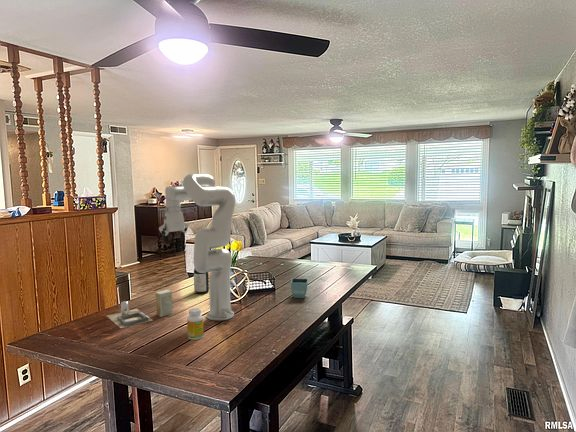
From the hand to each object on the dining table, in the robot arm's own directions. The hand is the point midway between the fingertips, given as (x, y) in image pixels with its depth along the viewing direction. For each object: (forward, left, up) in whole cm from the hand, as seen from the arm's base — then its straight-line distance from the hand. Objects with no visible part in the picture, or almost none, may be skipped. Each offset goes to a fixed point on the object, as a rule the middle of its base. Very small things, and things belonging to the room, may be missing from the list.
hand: (174, 241), depth 213 cm
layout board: (-21, +32, -30) cm, 49 cm away
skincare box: (-27, +18, -30) cm, 44 cm away
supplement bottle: (-57, +18, -30) cm, 67 cm away
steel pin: (-15, +32, -29) cm, 46 cm away
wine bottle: (-3, -14, -30) cm, 33 cm away
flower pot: (-46, -49, -30) cm, 73 cm away
